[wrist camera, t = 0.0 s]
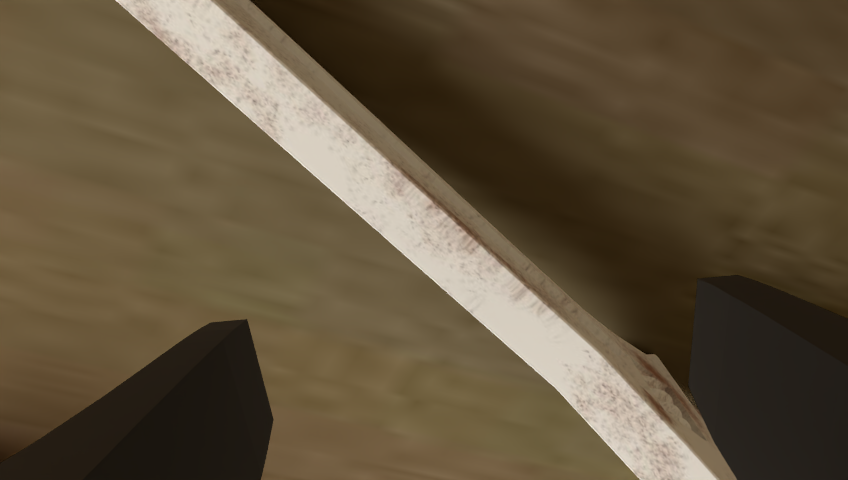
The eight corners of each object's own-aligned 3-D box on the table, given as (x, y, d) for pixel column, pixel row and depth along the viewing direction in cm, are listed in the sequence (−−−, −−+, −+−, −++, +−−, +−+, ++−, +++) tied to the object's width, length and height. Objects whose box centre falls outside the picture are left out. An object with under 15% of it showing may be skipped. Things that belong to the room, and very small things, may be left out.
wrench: (128, -143, 18) (762, 450, 23) (98, -92, 19) (723, 477, 23) (-126, -270, 11) (902, 657, 15) (-165, -178, 11) (839, 689, 16)
